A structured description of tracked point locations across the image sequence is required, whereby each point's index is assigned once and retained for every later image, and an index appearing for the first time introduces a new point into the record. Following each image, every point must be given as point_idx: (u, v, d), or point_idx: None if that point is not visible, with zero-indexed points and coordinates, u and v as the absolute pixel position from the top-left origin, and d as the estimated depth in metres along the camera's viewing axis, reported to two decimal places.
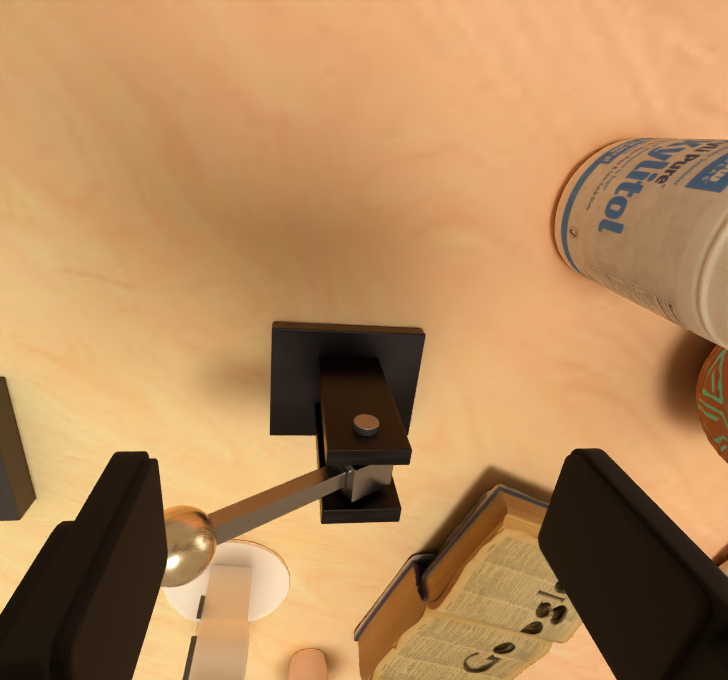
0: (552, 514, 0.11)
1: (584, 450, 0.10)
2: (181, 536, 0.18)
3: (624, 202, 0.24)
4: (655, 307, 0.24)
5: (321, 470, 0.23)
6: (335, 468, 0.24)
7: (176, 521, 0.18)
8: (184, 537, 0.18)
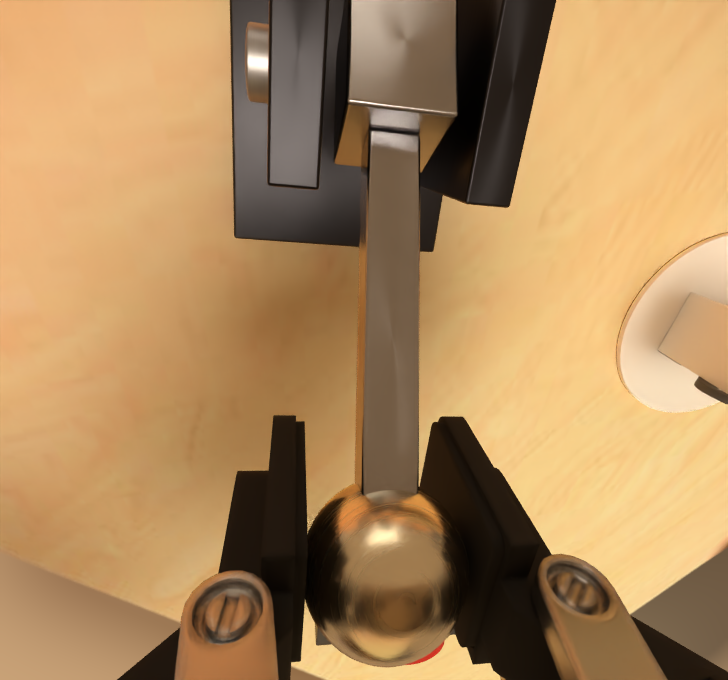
0: (424, 480, 0.11)
1: (445, 417, 0.11)
2: (318, 590, 0.07)
3: None
4: None
5: (361, 197, 0.09)
6: (363, 158, 0.09)
7: None
8: (322, 586, 0.07)
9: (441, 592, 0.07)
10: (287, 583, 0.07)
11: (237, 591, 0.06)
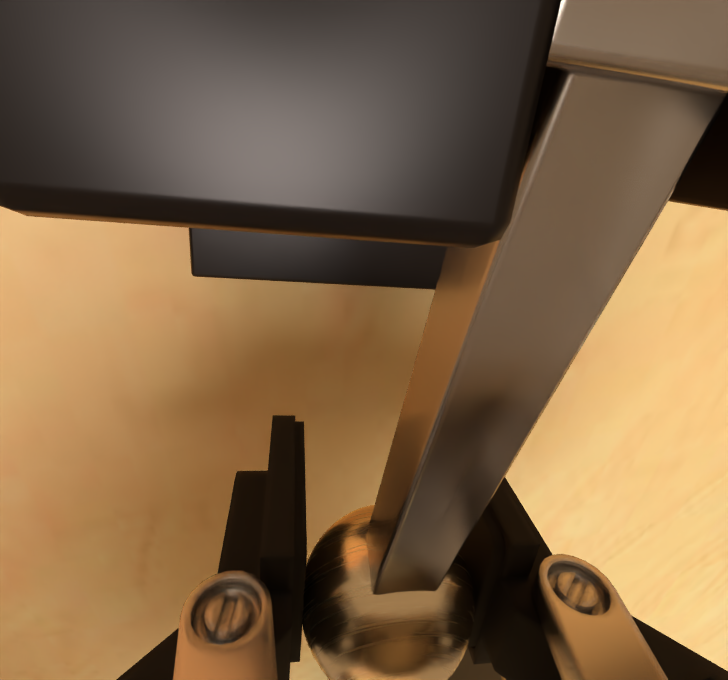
0: None
1: None
2: (316, 656, 0.07)
3: None
4: None
5: None
6: None
7: None
8: (320, 658, 0.07)
9: None
10: (286, 583, 0.07)
11: (236, 591, 0.06)
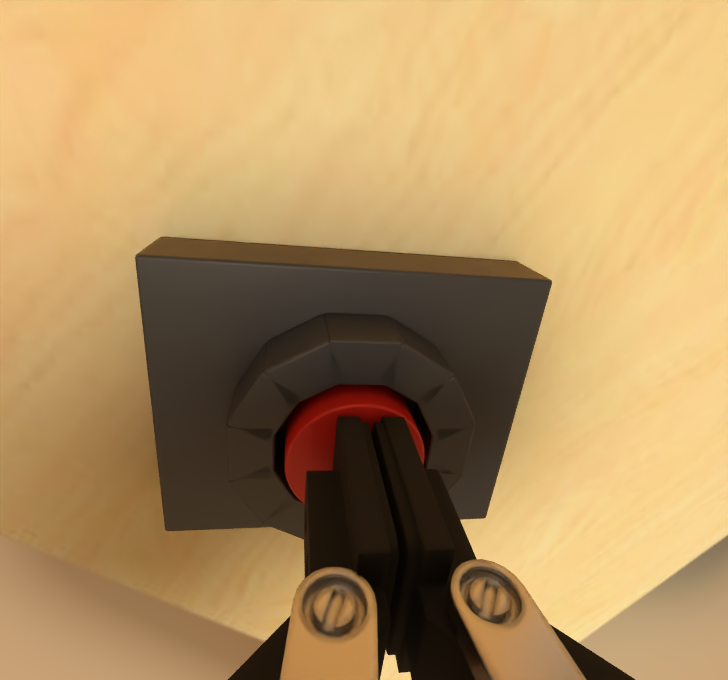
0: None
1: (385, 417, 0.10)
2: None
3: None
4: None
5: None
6: None
7: None
8: None
9: None
10: (380, 579, 0.07)
11: (343, 588, 0.07)
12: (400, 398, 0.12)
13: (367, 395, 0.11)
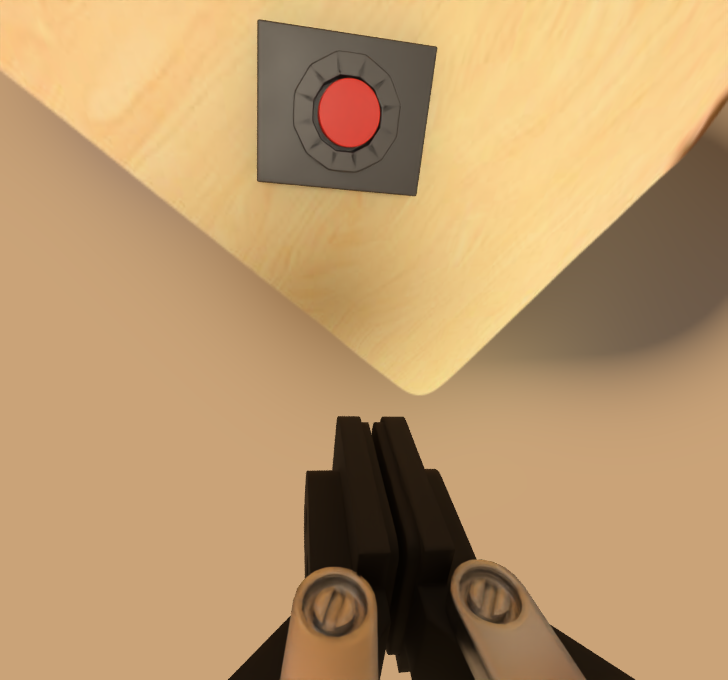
0: None
1: (385, 417, 0.10)
2: None
3: None
4: None
5: None
6: None
7: None
8: None
9: None
10: (380, 579, 0.07)
11: (343, 588, 0.07)
12: None
13: None
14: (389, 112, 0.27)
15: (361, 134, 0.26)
